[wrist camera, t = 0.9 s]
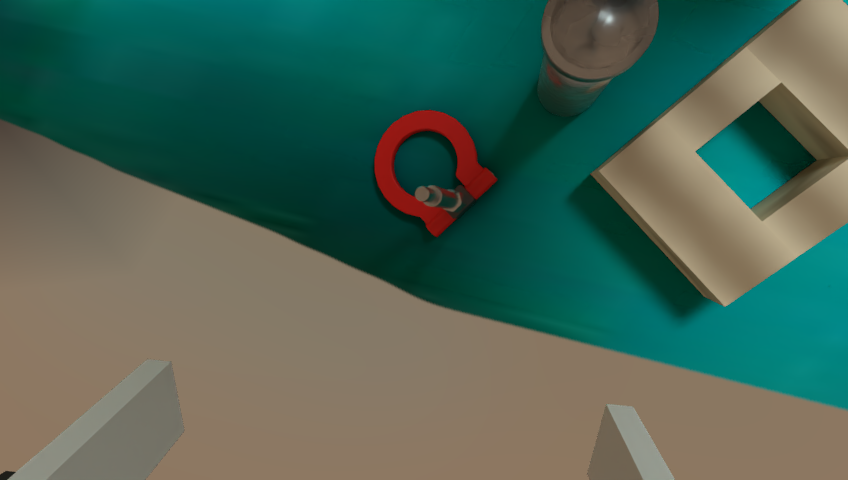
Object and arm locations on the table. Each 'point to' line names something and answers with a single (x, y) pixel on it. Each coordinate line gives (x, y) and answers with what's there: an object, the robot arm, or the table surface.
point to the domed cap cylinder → (590, 48)
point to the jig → (708, 194)
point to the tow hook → (432, 200)
